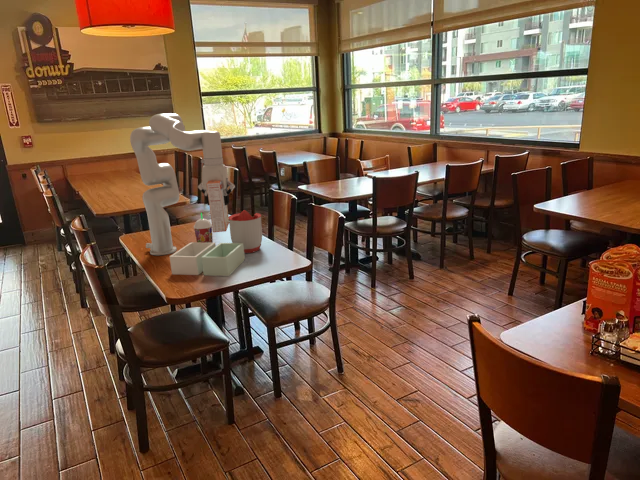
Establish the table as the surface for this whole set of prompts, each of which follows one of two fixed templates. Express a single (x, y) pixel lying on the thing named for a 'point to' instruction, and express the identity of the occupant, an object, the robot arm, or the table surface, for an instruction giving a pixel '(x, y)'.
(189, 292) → the table surface
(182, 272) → the white open tray
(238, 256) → the bin
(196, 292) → the table surface
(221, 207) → the cracker box
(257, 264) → the table surface
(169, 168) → the robot arm
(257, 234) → the citrus juicer
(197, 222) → the smoothie
